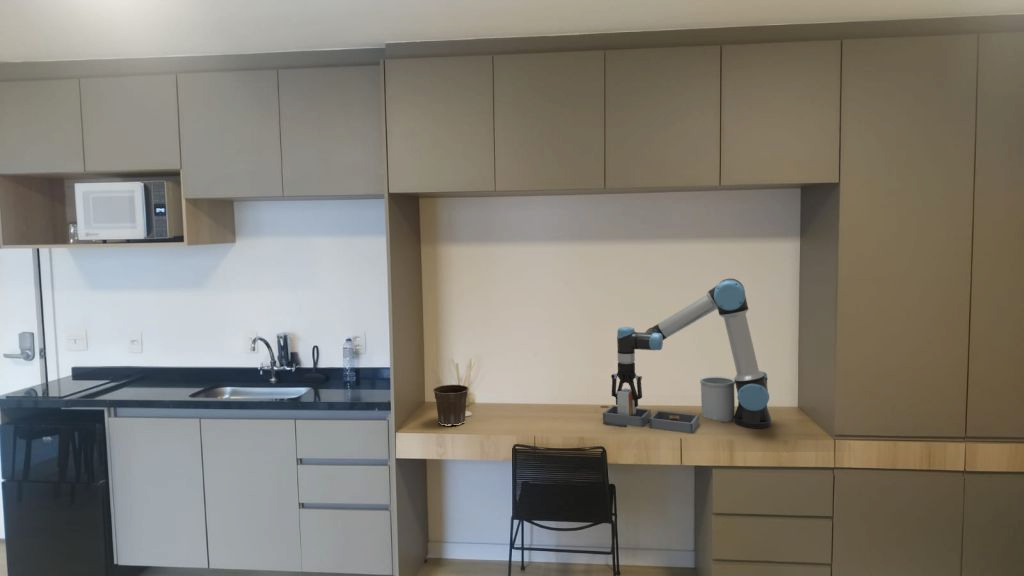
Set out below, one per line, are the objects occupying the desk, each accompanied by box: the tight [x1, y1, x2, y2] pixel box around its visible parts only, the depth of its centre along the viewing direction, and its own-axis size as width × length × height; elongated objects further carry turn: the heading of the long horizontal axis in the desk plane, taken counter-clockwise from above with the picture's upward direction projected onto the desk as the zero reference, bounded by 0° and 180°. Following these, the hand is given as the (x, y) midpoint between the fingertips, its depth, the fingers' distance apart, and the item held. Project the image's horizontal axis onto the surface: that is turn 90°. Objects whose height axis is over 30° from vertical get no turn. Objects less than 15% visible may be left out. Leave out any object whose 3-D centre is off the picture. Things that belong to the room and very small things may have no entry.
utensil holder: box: [699, 375, 736, 423], centre depth 263 cm, size 15×15×18 cm
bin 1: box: [602, 405, 652, 428], centre depth 262 cm, size 18×13×5 cm
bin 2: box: [648, 410, 700, 434], centre depth 251 cm, size 18×13×5 cm
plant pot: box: [432, 384, 469, 425], centre depth 269 cm, size 16×16×16 cm
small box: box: [616, 387, 634, 416], centre depth 261 cm, size 8×6×10 cm
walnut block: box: [669, 415, 679, 421], centre depth 251 cm, size 4×4×4 cm
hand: (627, 412), depth 261 cm, fingers closed on small box, 6 cm apart
